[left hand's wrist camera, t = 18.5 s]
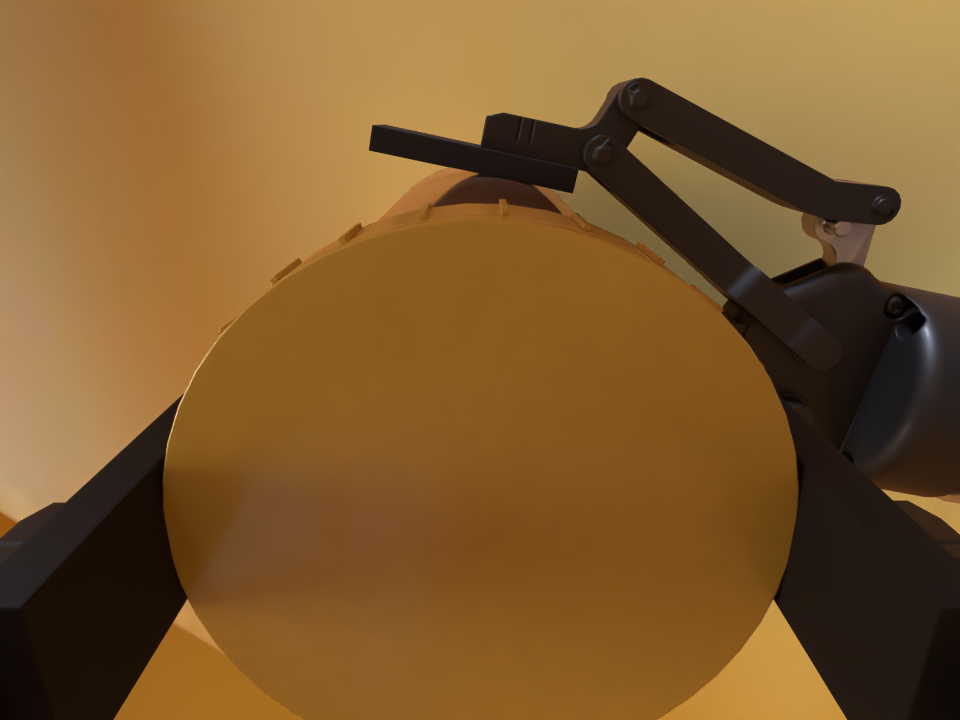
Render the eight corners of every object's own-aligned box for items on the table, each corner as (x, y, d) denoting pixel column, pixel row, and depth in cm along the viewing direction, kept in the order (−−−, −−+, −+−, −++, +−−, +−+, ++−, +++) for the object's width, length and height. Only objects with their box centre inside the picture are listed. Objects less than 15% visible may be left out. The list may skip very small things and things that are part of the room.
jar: (382, 369, 31) (246, 714, 13) (369, 163, 27) (162, 241, 10) (579, 368, 31) (718, 711, 13) (590, 161, 27) (793, 237, 10)
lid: (583, 63, 10) (606, 50, 8) (842, 546, 13) (901, 615, 11) (86, 402, 12) (15, 452, 10) (413, 752, 15) (404, 839, 13)
